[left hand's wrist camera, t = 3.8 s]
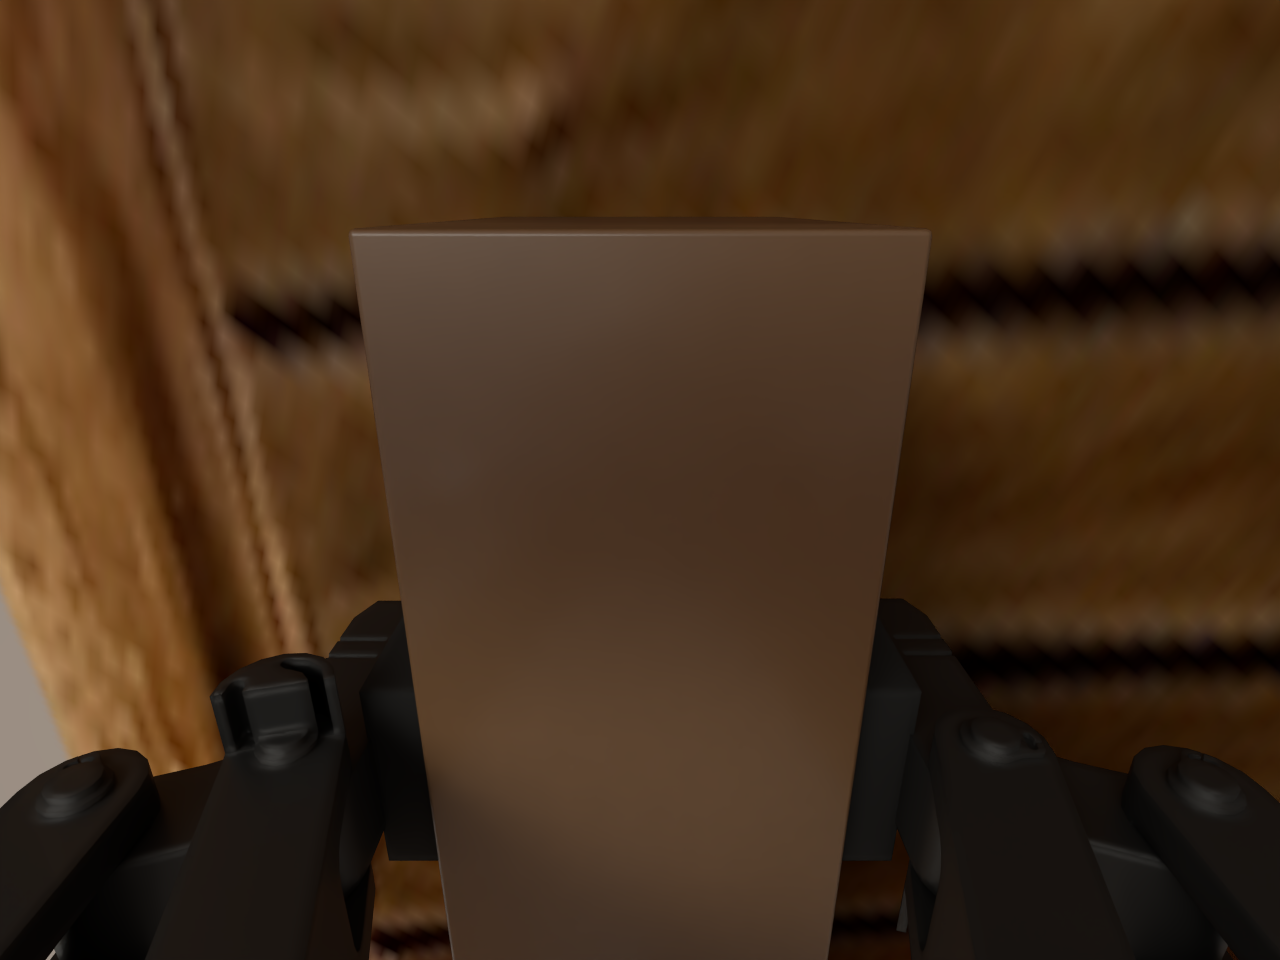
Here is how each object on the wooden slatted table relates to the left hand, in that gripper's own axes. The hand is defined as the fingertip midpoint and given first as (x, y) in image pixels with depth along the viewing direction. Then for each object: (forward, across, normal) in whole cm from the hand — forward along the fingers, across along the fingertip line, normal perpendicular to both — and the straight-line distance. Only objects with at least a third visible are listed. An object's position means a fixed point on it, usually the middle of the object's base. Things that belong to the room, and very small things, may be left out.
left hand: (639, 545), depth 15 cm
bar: (0, 0, -24) cm, 24 cm away
